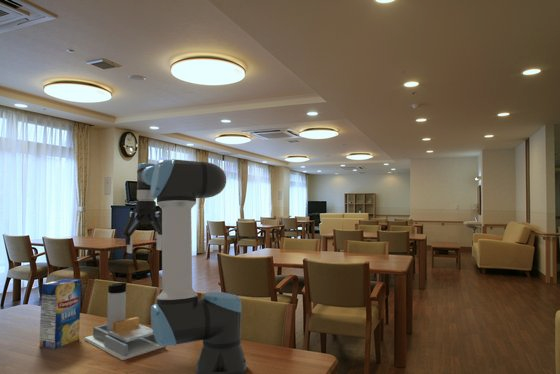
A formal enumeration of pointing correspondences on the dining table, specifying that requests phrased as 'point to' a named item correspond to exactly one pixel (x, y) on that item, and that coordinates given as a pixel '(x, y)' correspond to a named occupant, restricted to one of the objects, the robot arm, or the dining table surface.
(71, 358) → the dining table surface
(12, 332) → the dining table surface
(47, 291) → the blue food box
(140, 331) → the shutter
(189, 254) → the robot arm
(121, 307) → the travel mug
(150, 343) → the dock
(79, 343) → the dining table surface
